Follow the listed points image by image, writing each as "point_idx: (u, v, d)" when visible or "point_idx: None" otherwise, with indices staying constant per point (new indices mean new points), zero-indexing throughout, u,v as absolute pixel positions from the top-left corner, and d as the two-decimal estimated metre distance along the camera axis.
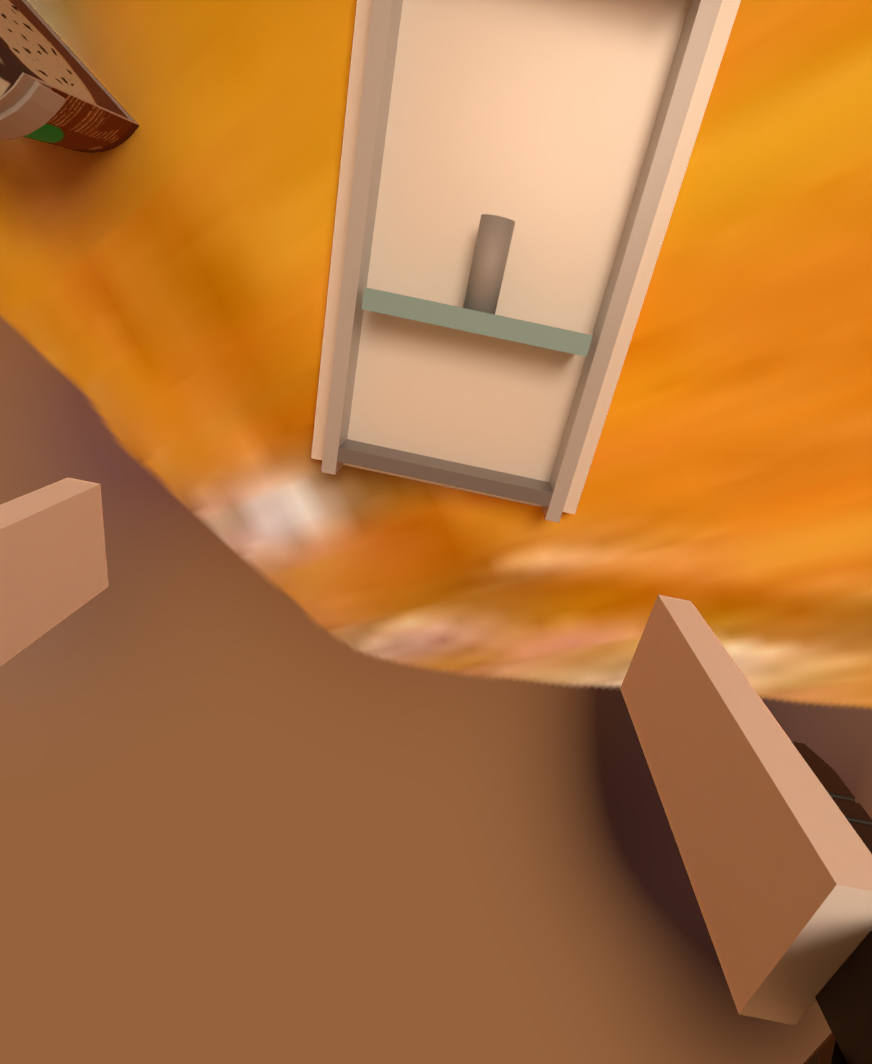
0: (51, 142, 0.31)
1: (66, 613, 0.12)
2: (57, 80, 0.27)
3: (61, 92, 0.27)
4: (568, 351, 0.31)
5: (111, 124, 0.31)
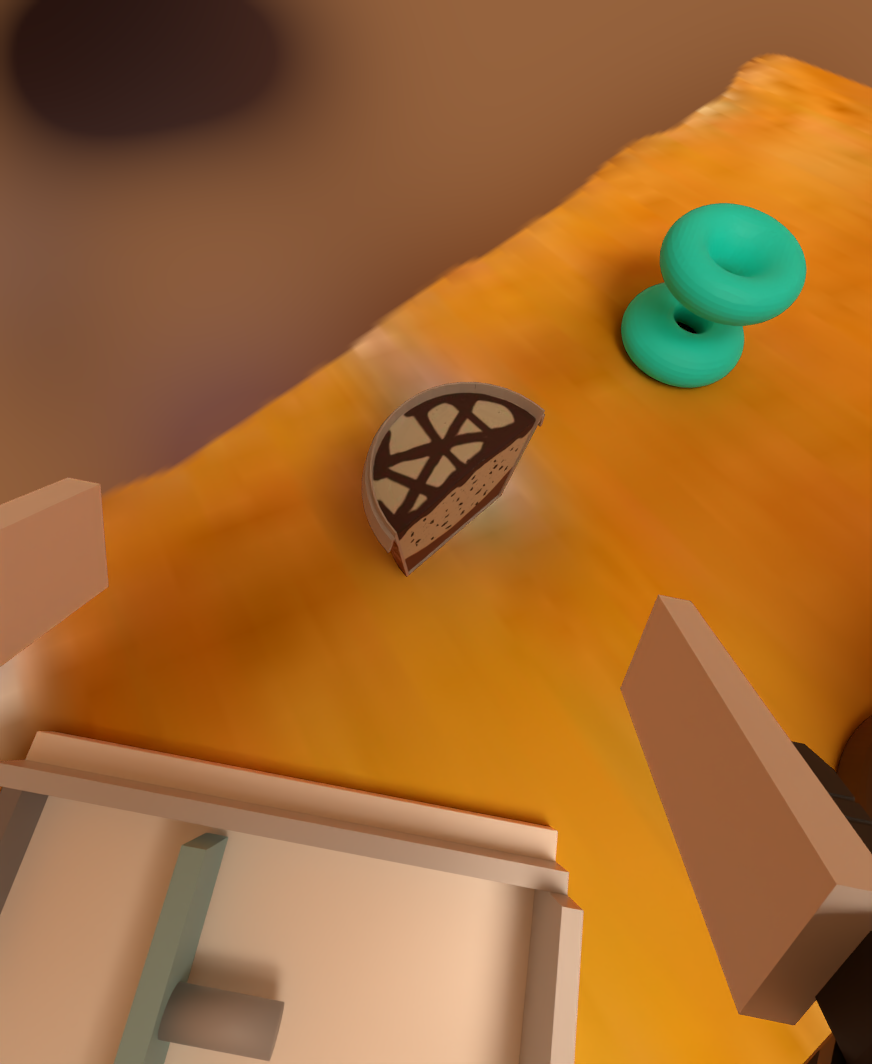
0: None
1: (66, 614, 0.12)
2: (412, 540, 0.30)
3: (397, 547, 0.29)
4: None
5: (398, 560, 0.34)
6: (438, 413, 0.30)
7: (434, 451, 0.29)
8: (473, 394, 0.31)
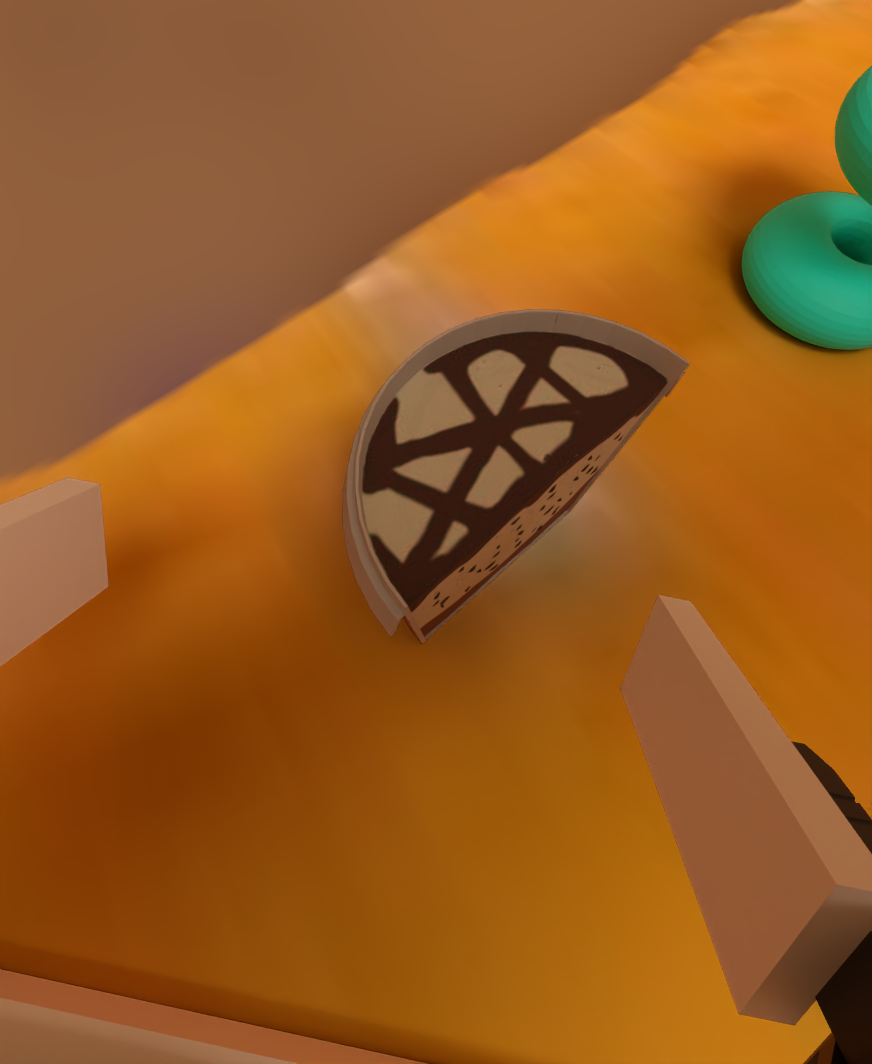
0: None
1: (66, 613, 0.12)
2: (436, 602, 0.16)
3: (408, 621, 0.15)
4: None
5: None
6: (488, 368, 0.16)
7: (481, 437, 0.15)
8: (551, 335, 0.17)
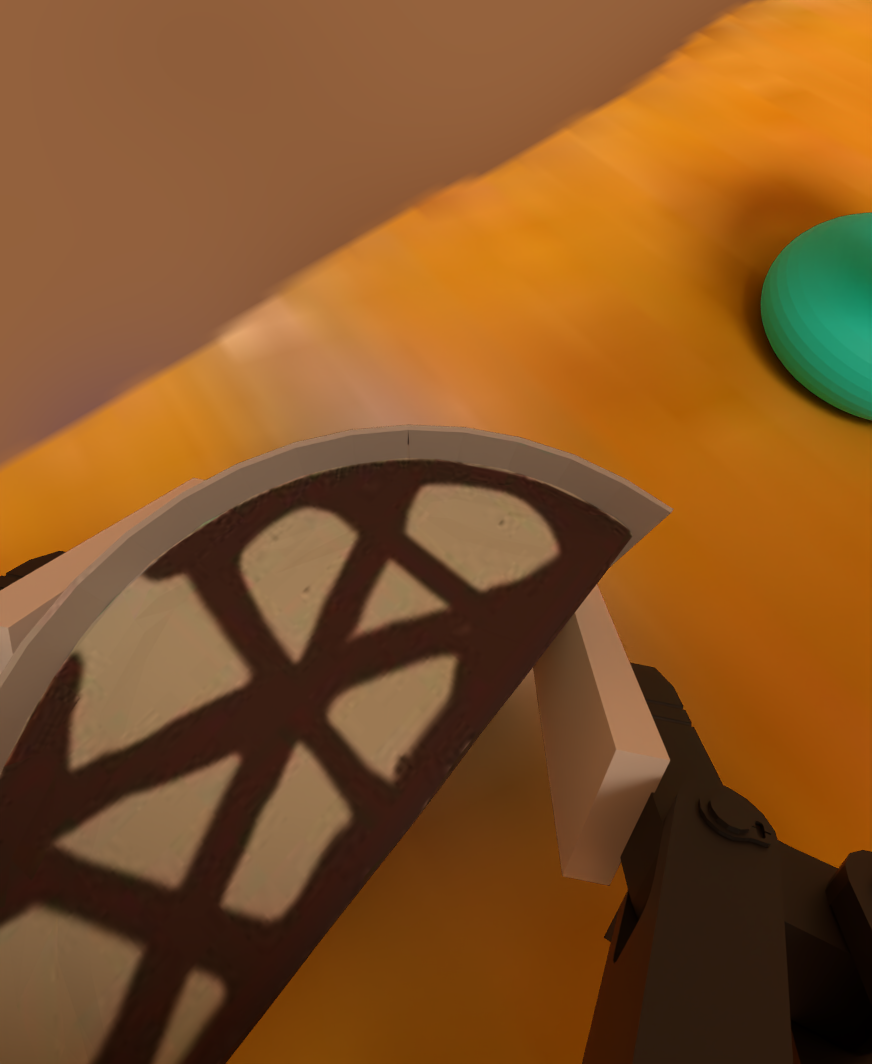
0: None
1: None
2: None
3: None
4: None
5: None
6: (284, 550, 0.08)
7: (264, 723, 0.07)
8: (407, 466, 0.09)
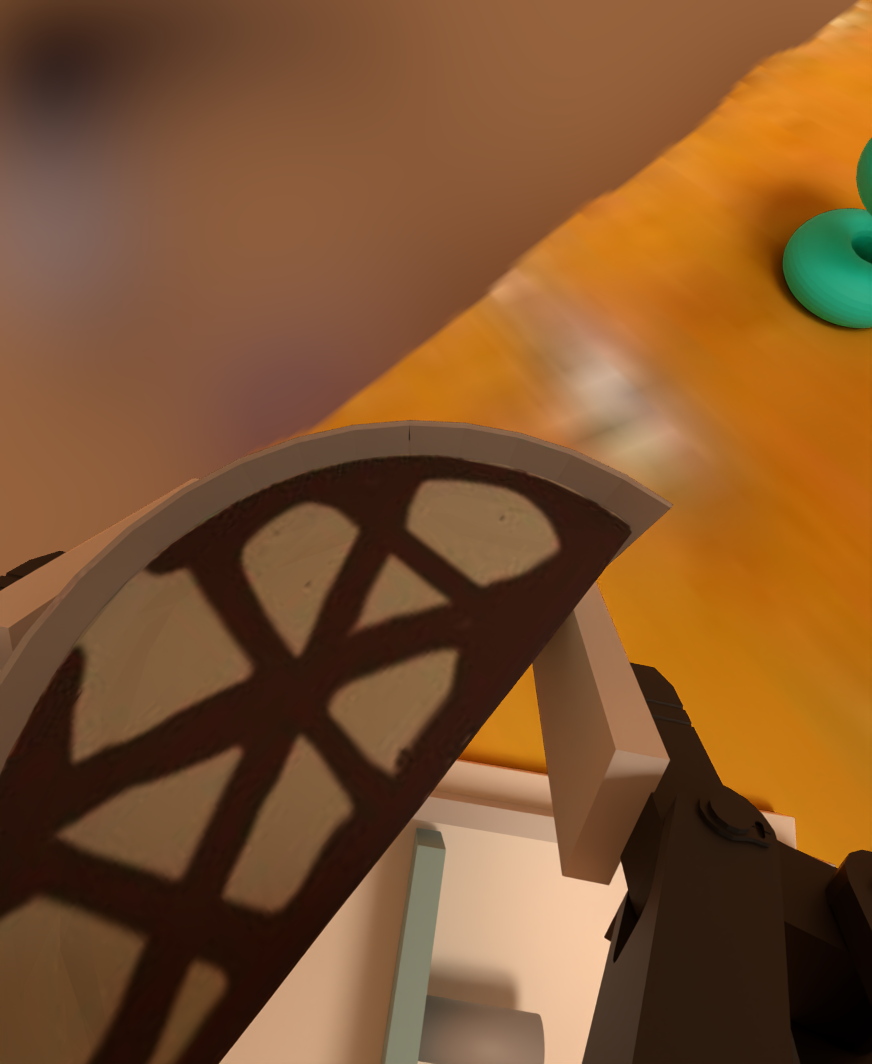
0: None
1: None
2: None
3: None
4: None
5: None
6: (285, 546, 0.08)
7: (266, 717, 0.07)
8: (408, 461, 0.09)
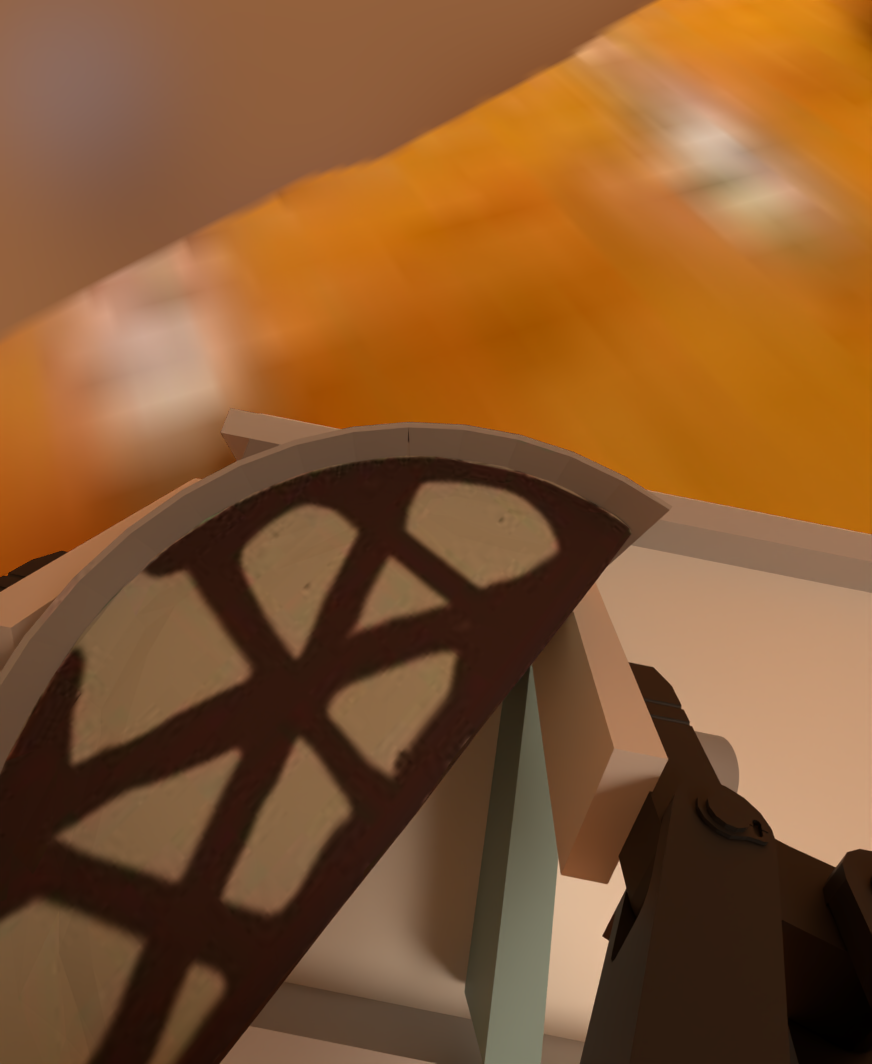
0: None
1: None
2: None
3: None
4: (495, 1002, 0.12)
5: None
6: (284, 547, 0.08)
7: (264, 719, 0.07)
8: (408, 463, 0.09)
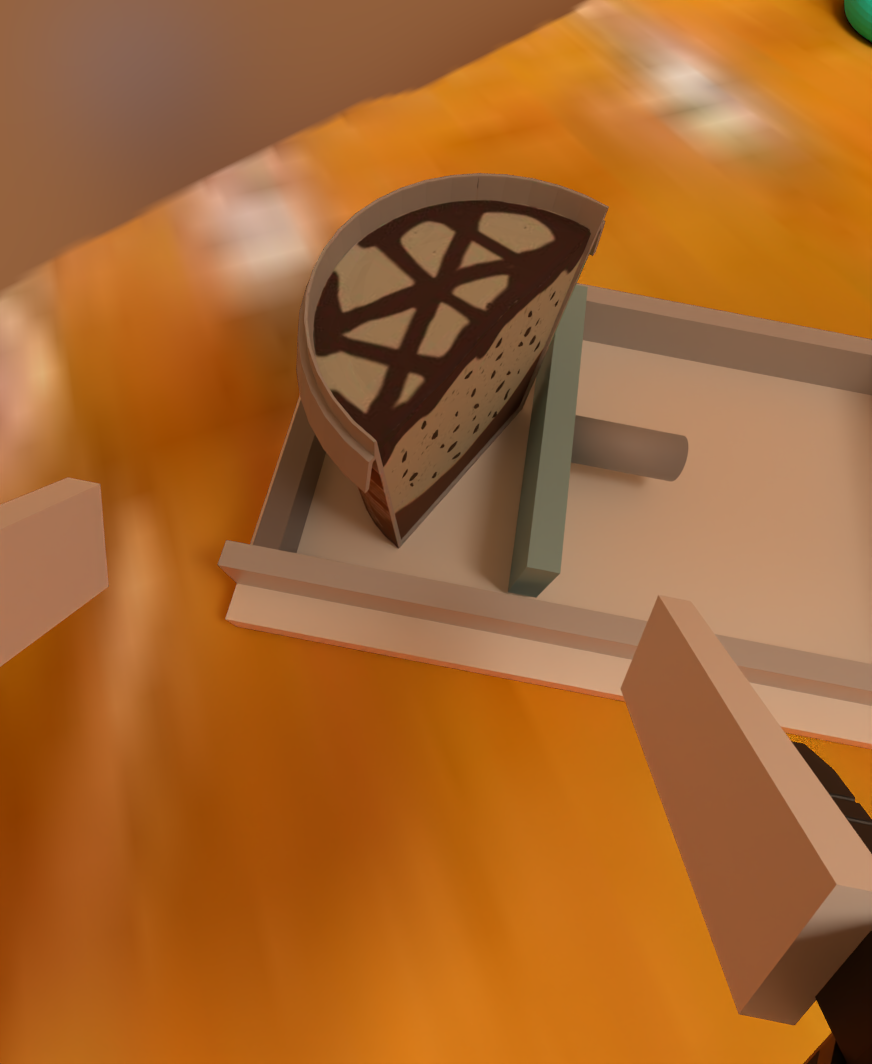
0: None
1: (65, 613, 0.12)
2: (405, 471, 0.17)
3: (380, 482, 0.15)
4: (532, 537, 0.19)
5: (383, 521, 0.20)
6: (420, 238, 0.17)
7: (424, 297, 0.16)
8: (476, 202, 0.17)
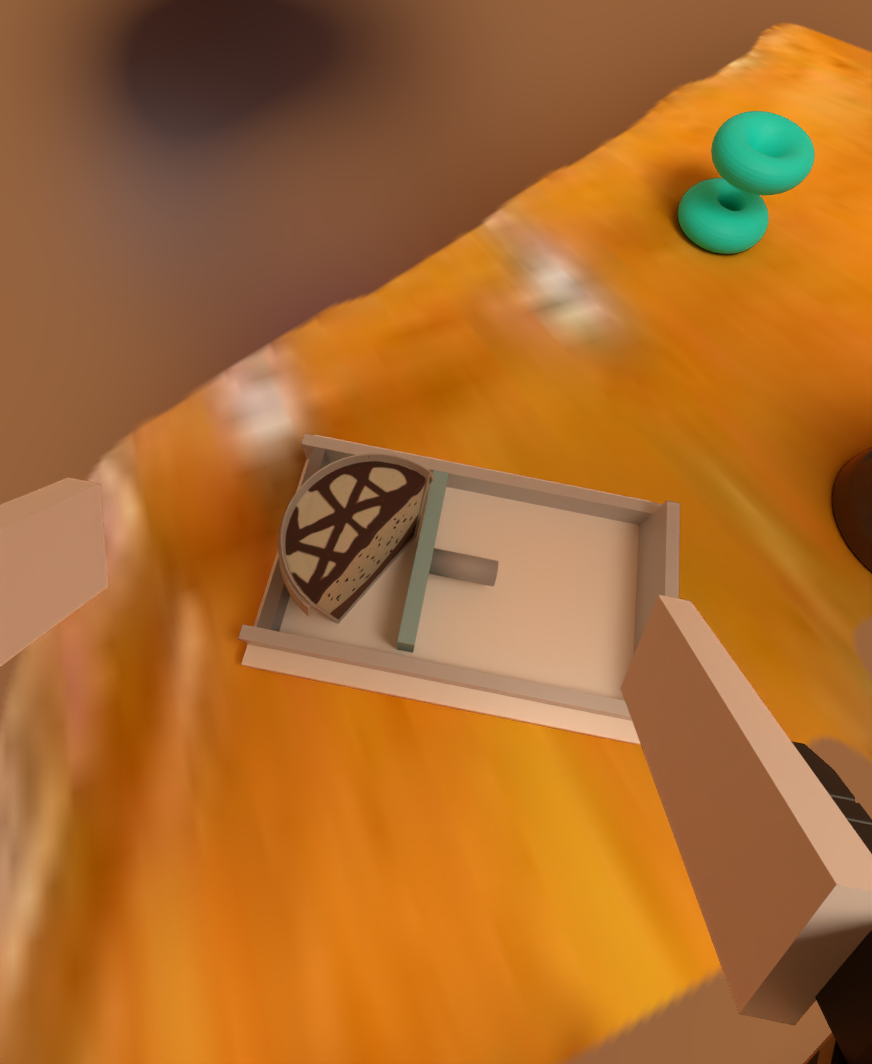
0: None
1: (65, 614, 0.12)
2: (331, 598, 0.34)
3: (317, 608, 0.33)
4: (401, 625, 0.36)
5: None
6: (339, 484, 0.34)
7: (338, 520, 0.33)
8: (368, 463, 0.35)
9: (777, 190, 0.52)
